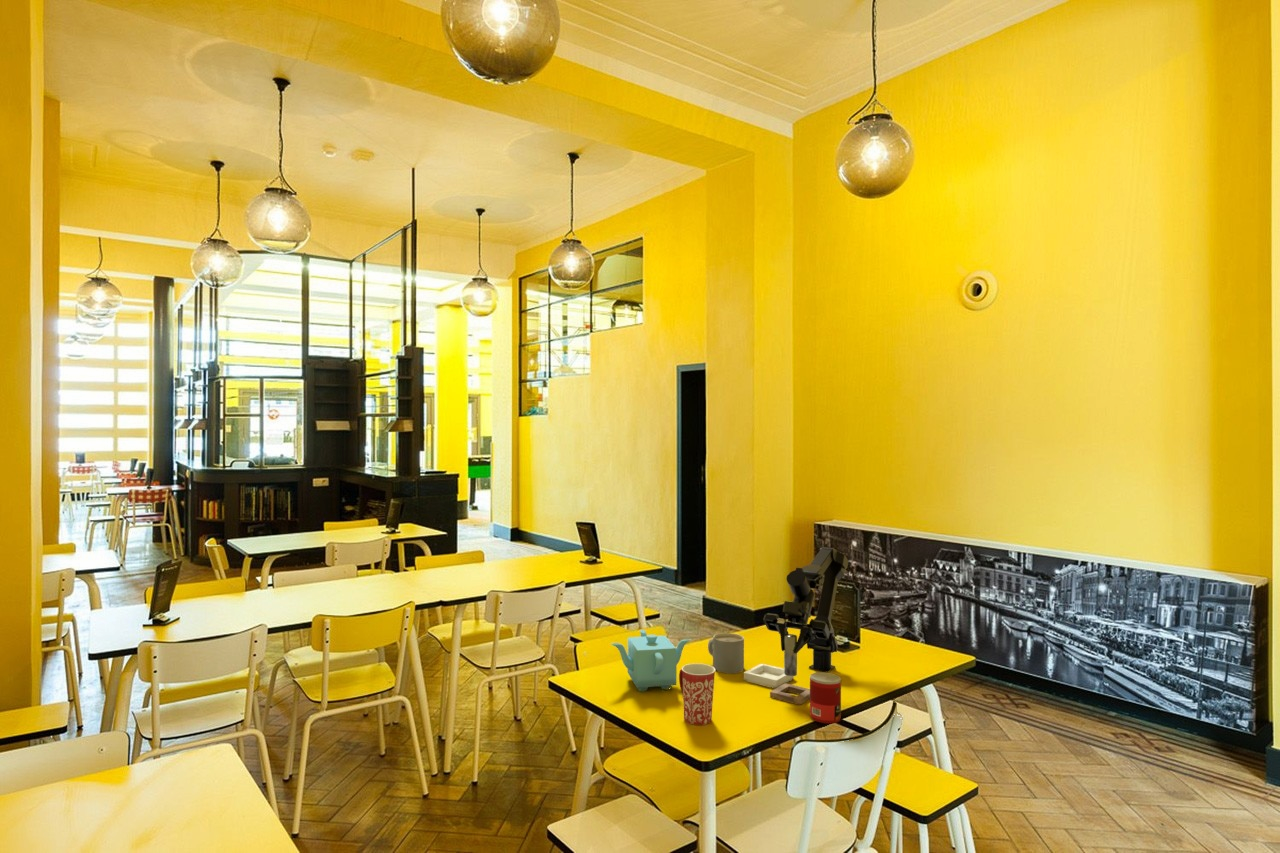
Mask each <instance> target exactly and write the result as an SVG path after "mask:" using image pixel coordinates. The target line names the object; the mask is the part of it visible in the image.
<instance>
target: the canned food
mask: <svg viewBox="0 0 1280 853" xmlns="http://www.w3.org/2000/svg"><path fill="white" fill-rule="evenodd" d="M809 689H810V699H809V715H810V718H811V720H813V721H815V722H818V723H820V724H826V725H827V724H829V723H830V724H837V723H839V722H840V720H841V718H842V717H841V716H842V678H841V677H840V676H839V675H837V674H834V673H830V672H823V671H819V672H813V673H812V674H810V675H809ZM830 724H829V725H830Z"/></svg>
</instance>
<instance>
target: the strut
mask: <svg viewBox="0 0 1280 853" xmlns="http://www.w3.org/2000/svg"><path fill="white" fill-rule="evenodd" d="M797 641H798V636H797V634H793V633H789V634H786V635H784V651H783V652H784V654H783V655H784V657H783V659H784V661H783V662H784V664H783V666H784V667H783V669H784V674H785V675H788V676H794V677H795V676H797V675H798V653H797V654H796V653H795V647H796V644H797Z"/></svg>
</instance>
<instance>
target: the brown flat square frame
mask: <svg viewBox="0 0 1280 853" xmlns="http://www.w3.org/2000/svg"><path fill="white" fill-rule="evenodd" d="M788 692H789V693H788ZM790 693H792V694H790ZM795 694H797V695H795ZM769 697H770V698H773V699H776V700H779V699H780V701H784V702H786V703H787V702H788V703H790V704H795V705H798V706H801V705H803V704H804V703H805V702H807V701H810V688H807V687H802V686H798V685H795V684H791V683H785V684H783V685H781V686H779V687H778V688H776V689H775V688H773V690H771V691H770V692H769Z"/></svg>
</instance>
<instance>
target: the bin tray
mask: <svg viewBox="0 0 1280 853" xmlns="http://www.w3.org/2000/svg"><path fill="white" fill-rule="evenodd" d="M794 677H795V676H788V675H785V674H784V667H779V666H774V665H769V664H765V663H760V664H757V665H755V666H753V667H752V668H750V669H748V670H746V671H744V672H743V681H744V682H748V683H751V684H757V685H760V686H764V687H768V688H771V687H772V688H771V689H776V688H778V687H779V686H781V685H783V684H785V683H787V682H788V683H789V681H790V682H791V681H793V680H794V679H795V678H794ZM792 679H793V680H792ZM788 683H787V684H788Z"/></svg>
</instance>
